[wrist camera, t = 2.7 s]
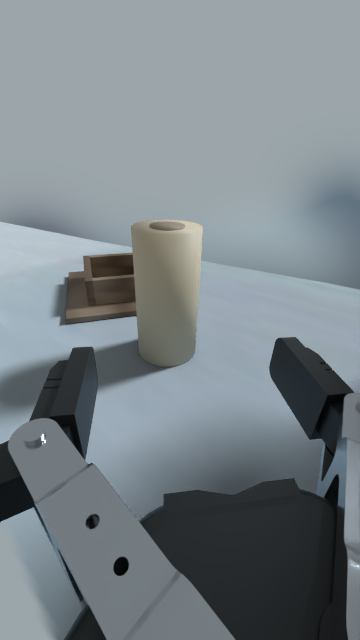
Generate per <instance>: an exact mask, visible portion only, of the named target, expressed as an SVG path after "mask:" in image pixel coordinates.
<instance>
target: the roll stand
mask: <svg viewBox="0 0 360 640" xmlns="http://www.w3.org/2000/svg"><path fill="white" fill-rule="evenodd" d="M83 258H84V271H82V272H69V277H68V291H67V305H66V324H71V323H79V322H87V321H95V320H103V319H111V318H118V317H126V316H134V315H137V312H136V296H135V280H134V264H133V253H123V254H107V255H92V256H83Z"/></svg>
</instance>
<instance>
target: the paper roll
mask: <svg viewBox="0 0 360 640" xmlns="http://www.w3.org/2000/svg"><path fill="white" fill-rule="evenodd" d="M131 233H132V248H133V264H134V280H135V296H136V312H137V327H138V343H139V353H140V356H141V357H142V358H143V359H144V360H145V361H146V362H148V363H150V364H153V365H156V366H162V367H172V366H178V365H181V364H184V363H186V362H187V361H189V360H190V359H191V358H192V357H193V355H194V353H195V344H196V328H197V313H198V297H199V282H200V266H201V250H202V234H203V227H202V226H201V225H199V224H196V223H193V222H188V221H181V220H149V221H142V222H138V223H135V224H133V225H132V226H131Z"/></svg>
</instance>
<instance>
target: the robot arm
mask: <svg viewBox="0 0 360 640" xmlns="http://www.w3.org/2000/svg"><path fill="white" fill-rule="evenodd" d="M269 370H270V375H271V378H272V380H273V382H274V383H275V385H276V386H277V388H278V390H279V391H280V393H281V394H282V396H283V398H284V399H285V401H286V402H287V404H288V406H289V407H290V409H291V410H292V412H293V414H294V415H295V417H296V418H297V420H298V422H299V423H300V425H301V426H302V428H303V430H304V431H305V433H306V434H307V436H308V438H309V439H310V440H311V439H321V438H322V439H323V441H324V445H323V447H322V453H321V461H320V469H319V476H318V484H317V490H316V494H314V493H311V492H308V491H304V490H300V489H299V488H298V486H297V484H296V482H295V480H294V478H292V479H283V480H275V481H267V482H262V483H260V484H258V485H256V486H253V487H251V488H249V489H247V490H245V491H242V492H240V493H238V494H235V495H227V494H220V493H214V492H207V491H200V490H194V491H186V492H178V493H169V494H164V505H163V506H161V507H159V508H157V509H155V510H153V511H152V512H150V513H149V514H147V515H146V516H145V517H144V518H142V519H141V520H140V521H138V520H137V519H136V517H135V516H134V515H133V513H132V512H131V511H130V509H129V508H128V507H127V505H126V504H125V503H124V502H123V500H122V499H121V498H120V496H119V495H118V494H117V492H116V491H115V490H114V488H113V487H112V486H111V484H110V483H109V482H108V481H107V479H106V478H105V477H104V475H103V474H102V473H101V471H100V470H99V469H98V468H97V467H96V465H94V464H93V463H91V464H87V463H86V461H85V459H86V453H87V447H88V441H89V435H90V430H91V424H92V418H93V412H94V406H95V400H96V395H97V387H98V378H97V370H96V364H95V357H94V350H93V347H77V348H73V349H72V352H71V355H70V358H69V360H64V361H59V362H58V363H57V364H56V365H55V366H54V367H53V368H52V369H51V370H50V372H49V375H48V377H47V381H46V382H45V384H44V387H43V390H42V392H41V394H40V396H39V399H38V401H37V404H36V406H35V409H34V411H33V413H32V416H31V418H30V421H29V422H27V423H25V424H24V425H22V426H21V427H19V428H18V429H17V430H16V431H15V432H14V433H13V434H12V436H11V438H10V440H9V441H7V442H5V443H2V444H0V522H1V521H3V520H5V519H8V518H10V517H12V516H14V515H17V514H19V513H21V512H23V511H26V510H28V509H30V508H32V507H33V508H34V510H35V512H36V514H37V516H38V518H39V520H40V522H41V524H42V526H43V528H44V530H45V532H46V534H47V536H48V538H49V540H50V542H51V544H52V546H53V548H54V550H55V552H56V554H57V556H58V559H59V561H60V563H61V565H62V567H63V569H64V572H65V574H66V576H67V578H68V580H69V582H70V584H71V586H72V588H73V590H74V592H75V594H76V596H77V598H78V600H79V602H80V604H81V606H82V608H83V609H82V611H81V613H80V614H79V616H78V618H77V619H76V621H75V623H74V624H73V626H72V628H71V629H70V631H69V633H68V634H67V636H66V638H65V639H64V640H360V393H354V392H353V391H352V389H351V388H350V387H349V386H348V385H347V384H346V383H345V382H344V381H343V380H342V379H341V378H340V377H339V376H338V375H337V374H336V373H335V371H334V370H332V368H331V367H330V366H329V365H328V364H326V362H325V361H324V360H323V359H322V358H321V357H320V356H319V355H318V354H317V353H315V352H314V351H312V350H311V349H309V348H305V347H304V346H303V344H302V343H301V342H300V341H299V340H298V339H297V338H296V337H288V338H278V339H277V340H276V342H275V346H274V350H273V354H272V358H271V362H270V367H269Z"/></svg>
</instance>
